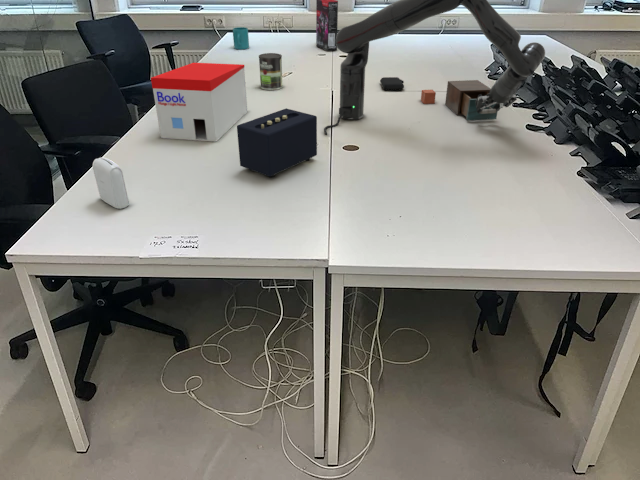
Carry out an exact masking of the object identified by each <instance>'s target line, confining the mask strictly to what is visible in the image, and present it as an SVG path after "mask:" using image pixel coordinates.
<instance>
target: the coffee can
mask: <svg viewBox="0 0 640 480" xmlns="http://www.w3.org/2000/svg"><path fill="white" fill-rule="evenodd" d="M282 59H283V55H282V54H281V53H276V52H265V53H261V54H259V55H258V61H259V62H258V63H259V65H258V66H259V81H260V89H261V90H265V91H277V90H281V89H282V88H283V87H284V85H283V60H282Z"/></svg>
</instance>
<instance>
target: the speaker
mask: <svg viewBox="0 0 640 480" xmlns="http://www.w3.org/2000/svg"><path fill="white" fill-rule="evenodd" d="M236 133H237V134H236V135H237V143H238V144H237V145H238V155H239V156H238V157H239V166H240V167H242V168H245V169H248V171H252V172H256V173H258V174H262V175H264V176H266V177H268V178H274V177H275V175H277V174H279V173H281V172H284V171H285V170H288V169H290V168H292V167H294V166H296V165H299V164H301V163H303V162H309V161H310V160H311V159H312V158H314V157H316V156H317V155H318V117H317V116H316V115H314V114H310V113H306V112H302V111H298V110H295V109H291V108H283V109H281V110H278V111H275V112H272V113H268V114H265V115H262V116H260V117H257V118H254V119H251V120H249V121H246V122H243V123H240V124H237V125H236Z"/></svg>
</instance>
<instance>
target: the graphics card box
mask: <svg viewBox="0 0 640 480" xmlns="http://www.w3.org/2000/svg"><path fill="white" fill-rule="evenodd" d="M315 1H316V4H315V5H316V7H315V8H316V12H315V14H316V17H315V20H316V21H315V22H316V24H315V25H316V28H315V29H316V31H315V32H316V33H315V35H316V36H315V46H316V48H319V49H322V50H324V51H326V52H332V51H338V48H337V46H336V36H337V34H338V24H339V23H338V22H339V21H338V17H339V15H338V14H339V0H315Z"/></svg>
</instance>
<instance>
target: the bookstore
mask: <svg viewBox="0 0 640 480" xmlns="http://www.w3.org/2000/svg"><path fill="white" fill-rule="evenodd" d="M150 83H151V88H152V93H153V99H154V104H155V109H156V117H157V122H158V128H159V135H160V139H172V140H187V141H200V142H201V141H202V142H215V143H216V142H218V140H220V139H221V138H222V137H223V136H224V135H225V134H226V133H227V132H228V131H229V130H230V129H231V128H232V127H234V125H236V124H237V123H238V122H239V121H240V119H242V118H243V117H244V116H245V115H246V114H247V113H248V99H247V98H248V97H247V86H246V73H245V64H235V63H214V62H213V63H212V62H191V63H188V64H185V65H183V66H180V67H177V68H174V69H171V70H169V71H166V72H163V73H160V74H157V75H154V76H151V77H150Z"/></svg>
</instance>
